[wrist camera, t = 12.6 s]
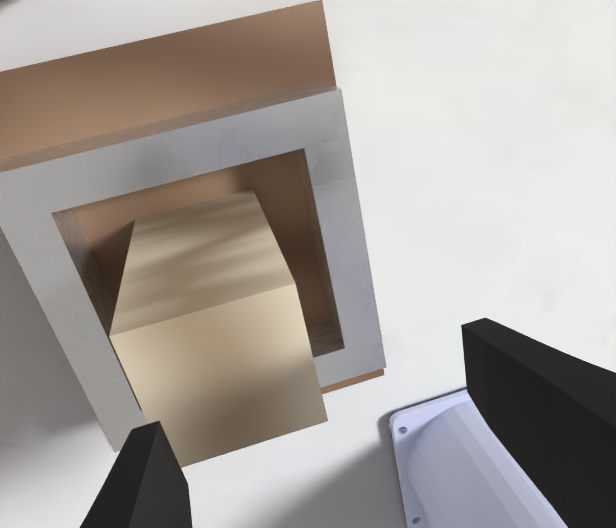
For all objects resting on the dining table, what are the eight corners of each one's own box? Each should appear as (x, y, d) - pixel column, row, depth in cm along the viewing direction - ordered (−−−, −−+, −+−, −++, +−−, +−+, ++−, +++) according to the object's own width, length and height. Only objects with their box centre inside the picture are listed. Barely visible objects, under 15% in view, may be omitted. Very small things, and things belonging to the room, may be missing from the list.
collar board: (378, 364, 25) (404, 409, 22) (131, 441, 24) (124, 500, 21) (316, 1, 18) (343, -4, 15) (-43, 81, 17) (-90, 93, 14)
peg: (252, 188, 19) (295, 283, 12) (278, 289, 21) (328, 420, 14) (135, 219, 19) (109, 336, 12) (172, 319, 21) (169, 471, 14)
